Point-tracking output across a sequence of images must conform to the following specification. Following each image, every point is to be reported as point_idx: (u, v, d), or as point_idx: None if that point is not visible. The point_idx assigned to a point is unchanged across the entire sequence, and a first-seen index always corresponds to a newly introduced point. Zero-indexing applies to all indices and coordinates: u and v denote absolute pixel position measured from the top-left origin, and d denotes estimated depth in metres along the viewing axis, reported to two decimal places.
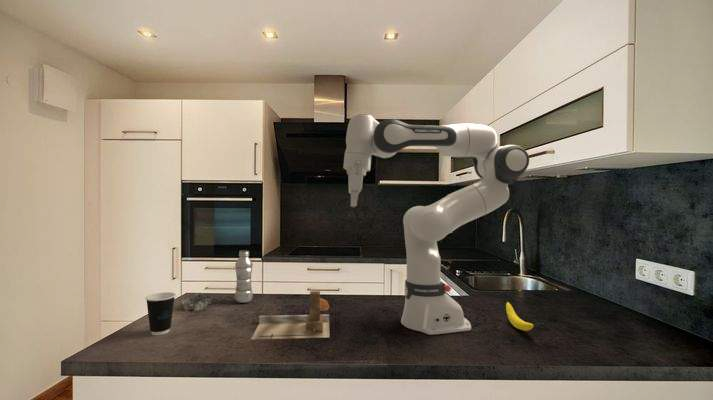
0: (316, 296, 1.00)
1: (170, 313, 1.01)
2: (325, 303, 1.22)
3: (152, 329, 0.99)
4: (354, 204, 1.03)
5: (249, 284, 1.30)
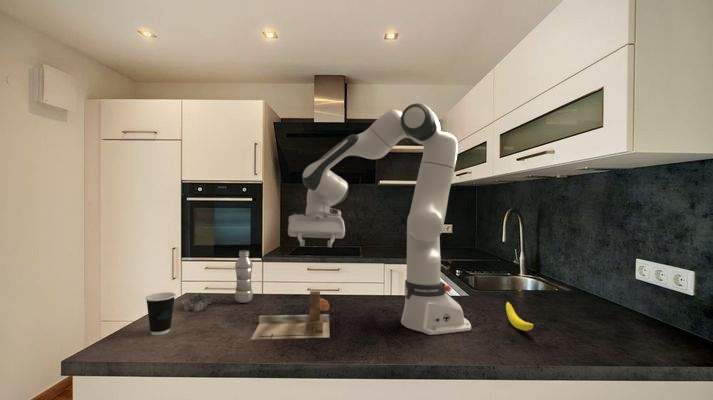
0: (316, 296, 1.00)
1: (170, 313, 1.01)
2: (325, 303, 1.22)
3: (152, 329, 0.99)
4: (300, 243, 1.15)
5: (249, 284, 1.30)
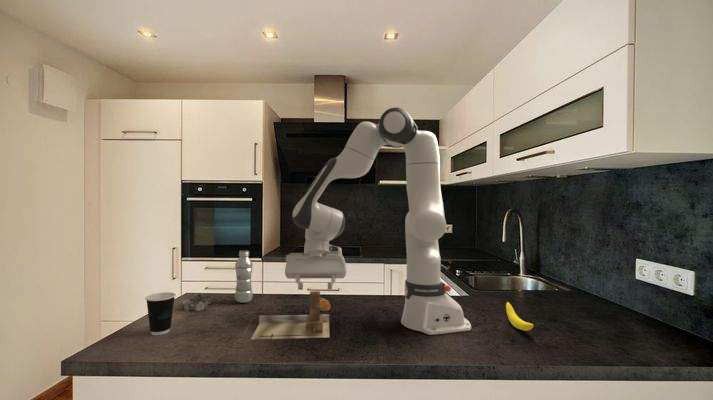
0: (316, 296, 1.00)
1: (170, 313, 1.01)
2: (326, 303, 1.22)
3: (152, 329, 0.99)
4: (298, 287, 1.07)
5: (249, 284, 1.30)
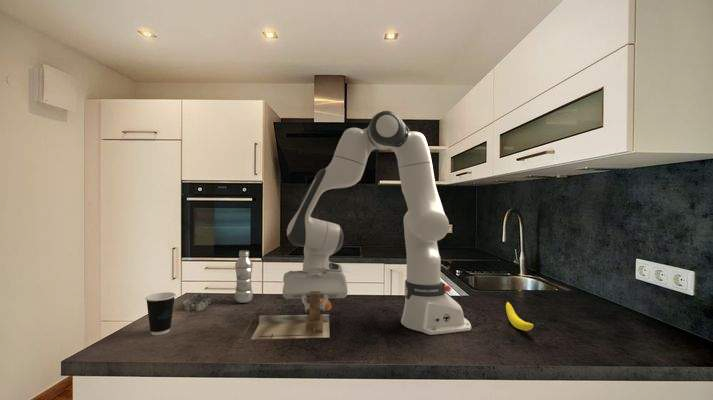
0: (316, 296, 1.00)
1: (170, 313, 1.01)
2: (328, 302, 1.23)
3: (152, 329, 0.99)
4: (305, 308, 1.01)
5: (249, 284, 1.30)
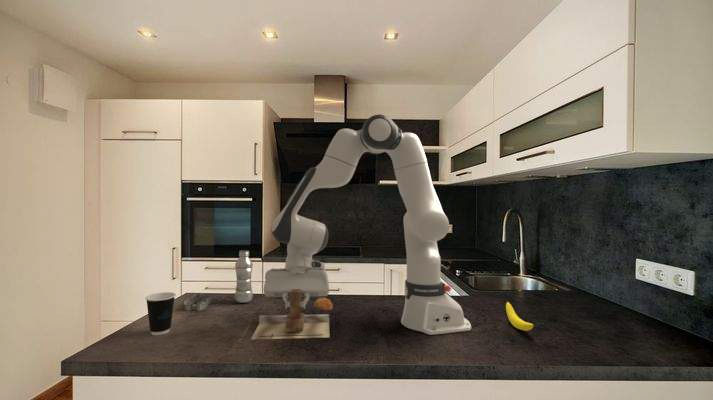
0: (296, 294, 1.00)
1: (170, 313, 1.01)
2: (329, 302, 1.23)
3: (152, 329, 0.99)
4: None
5: (249, 284, 1.30)
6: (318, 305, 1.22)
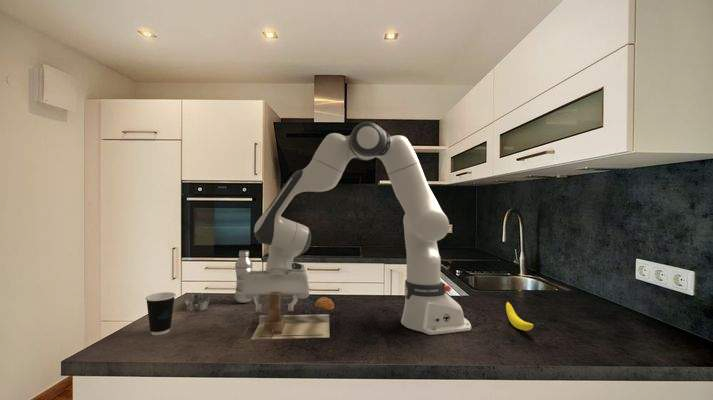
0: (275, 297, 0.99)
1: (170, 313, 1.01)
2: (330, 302, 1.24)
3: (152, 329, 0.99)
4: None
5: None
6: (320, 305, 1.22)
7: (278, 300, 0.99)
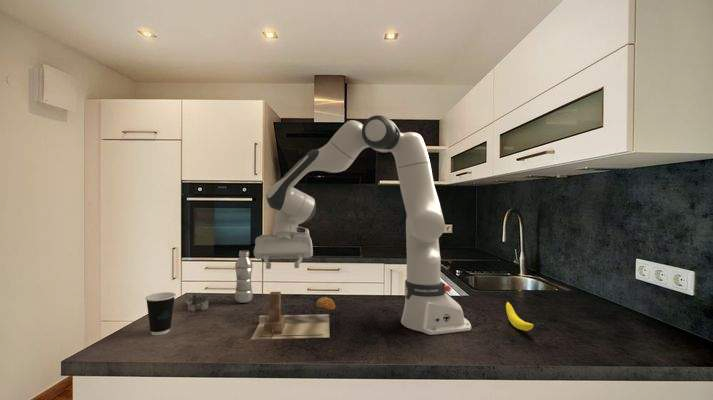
0: (275, 297, 0.99)
1: (170, 313, 1.01)
2: (331, 301, 1.24)
3: (152, 329, 0.99)
4: (266, 266, 1.12)
5: (249, 284, 1.30)
6: (321, 304, 1.22)
7: (278, 300, 0.99)
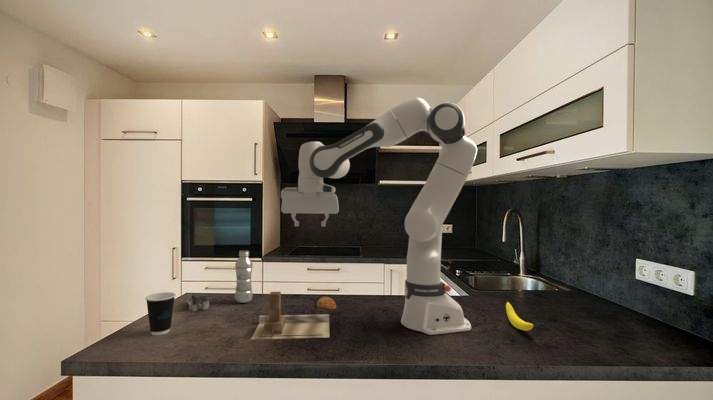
0: (275, 297, 0.99)
1: (170, 313, 1.01)
2: (332, 301, 1.24)
3: (152, 329, 0.99)
4: None
5: (249, 284, 1.30)
6: (322, 304, 1.22)
7: (278, 300, 0.99)
